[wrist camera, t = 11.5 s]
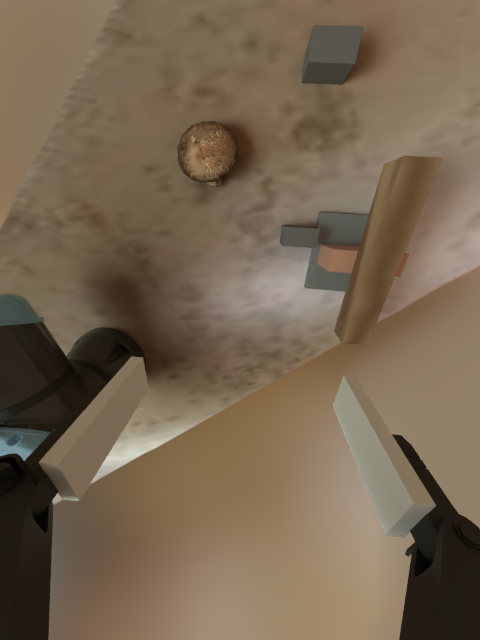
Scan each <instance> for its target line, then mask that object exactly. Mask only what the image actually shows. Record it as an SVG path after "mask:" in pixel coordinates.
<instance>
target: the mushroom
mask: <svg viewBox="0 0 480 640" xmlns="http://www.w3.org/2000/svg"><path fill="white" fill-rule="evenodd" d="M237 156H238V151H237V143H236V139H235V137H234V136H233V134H232V133H231V132H230V131H229V129H228V128H227V127H226V126H224V125H222V124H219V123H216V122H200V123H197V124H195V125H193V126H191V127H190V128H189V129H188V130H187V131H186V132H185V133H184V134H183V135H182V137H181V140H180V143H179V145H178V162H179V164H180V167H181V169H182V171H183V173H184V174H185V175H187V176H188V177H189V178H191V179H192V180H195V181H199V182H206V183H207V184H208V185H210V186H213V187H219V186H220V185H221V184H222V178H223V177H224V176H225V175H226V174H227V173H228V172H229V171H230V170H231V169H232V168H233V166H234V163H235V161H236V158H237Z"/></svg>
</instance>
